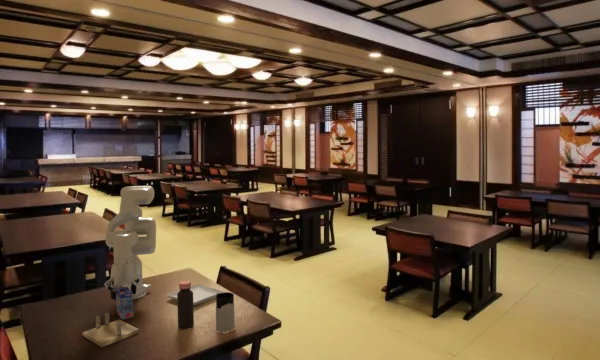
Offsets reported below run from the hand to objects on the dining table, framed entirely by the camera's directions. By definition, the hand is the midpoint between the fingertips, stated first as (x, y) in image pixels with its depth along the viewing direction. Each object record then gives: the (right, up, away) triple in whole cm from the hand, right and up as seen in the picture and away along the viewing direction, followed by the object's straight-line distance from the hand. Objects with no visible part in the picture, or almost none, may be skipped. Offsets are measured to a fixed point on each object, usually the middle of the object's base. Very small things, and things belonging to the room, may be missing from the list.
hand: (123, 296), depth 190 cm
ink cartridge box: (0, -9, +2) cm, 9 cm away
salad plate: (+28, -8, +23) cm, 37 cm away
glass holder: (+48, -10, -11) cm, 51 cm away
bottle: (+32, -10, -11) cm, 35 cm away
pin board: (+2, -11, -18) cm, 21 cm away
